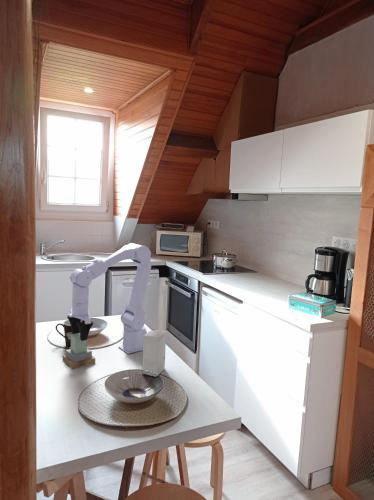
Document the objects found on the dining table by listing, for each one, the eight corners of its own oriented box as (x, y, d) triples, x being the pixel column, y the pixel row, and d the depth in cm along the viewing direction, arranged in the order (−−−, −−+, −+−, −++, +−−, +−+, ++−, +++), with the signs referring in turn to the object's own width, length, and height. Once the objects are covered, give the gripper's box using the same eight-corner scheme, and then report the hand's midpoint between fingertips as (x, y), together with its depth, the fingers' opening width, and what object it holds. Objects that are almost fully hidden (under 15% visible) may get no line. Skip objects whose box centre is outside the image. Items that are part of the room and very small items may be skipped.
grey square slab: (82, 351, 144) (82, 345, 143) (91, 357, 139) (91, 351, 139) (65, 356, 139) (65, 350, 138) (75, 362, 134) (75, 356, 133)
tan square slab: (85, 356, 145) (85, 350, 145) (95, 364, 139) (95, 358, 138) (62, 361, 140) (62, 355, 139) (72, 370, 133) (72, 364, 133)
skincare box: (156, 378, 129) (158, 338, 127) (140, 375, 131) (142, 335, 129) (165, 368, 137) (167, 330, 135) (150, 365, 139) (152, 327, 137)
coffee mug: (88, 344, 155) (89, 322, 154) (72, 351, 148) (73, 327, 146) (70, 338, 161) (70, 316, 160) (53, 343, 154) (54, 320, 152)
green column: (82, 347, 141) (82, 332, 141) (86, 351, 138) (87, 336, 137) (70, 349, 139) (70, 334, 138) (75, 353, 135) (75, 338, 134)
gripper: (62, 298, 139) (61, 332, 141) (78, 308, 128) (77, 345, 130) (80, 296, 143) (79, 329, 145) (96, 305, 132) (95, 341, 134)
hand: (79, 336), depth 138 cm, fingers open, 7 cm apart
